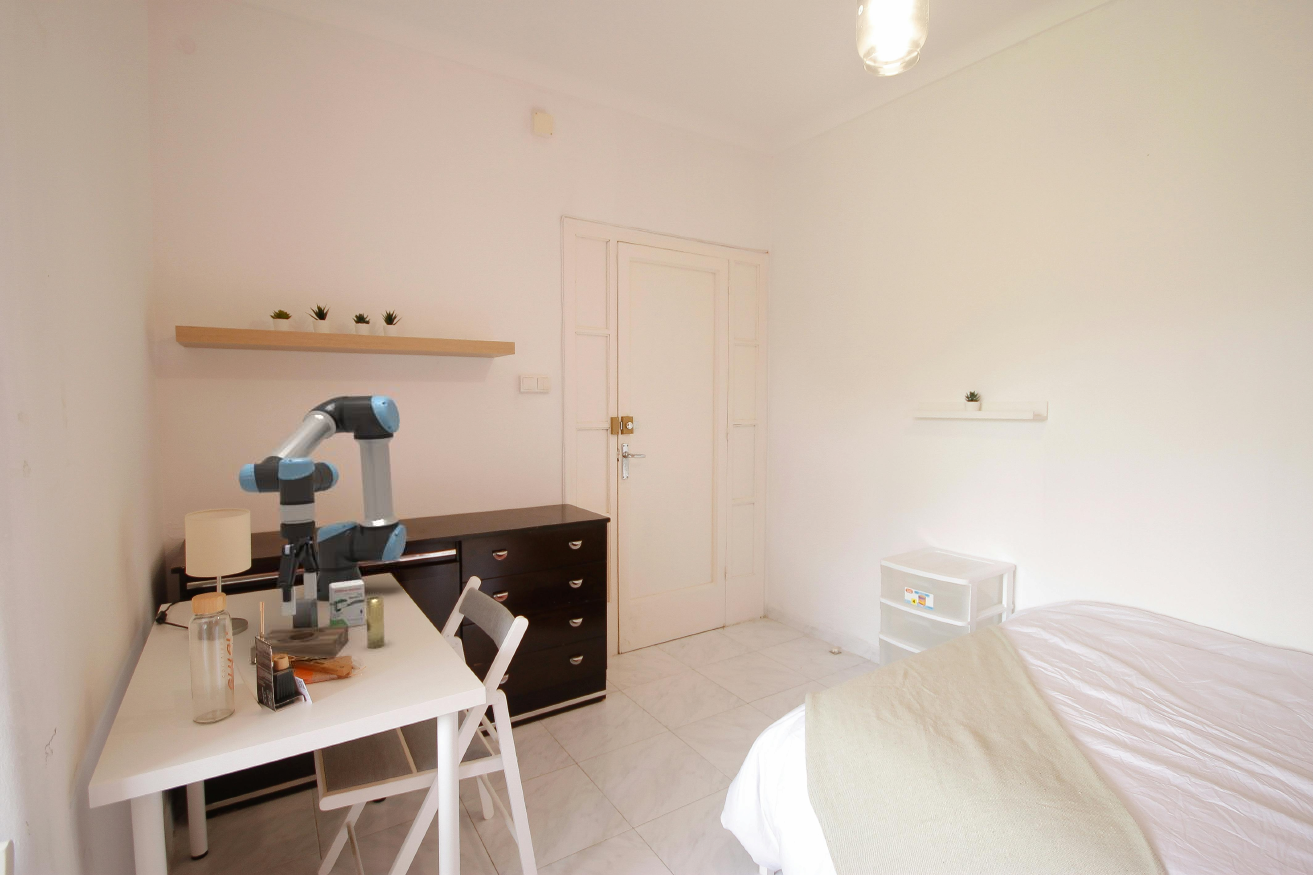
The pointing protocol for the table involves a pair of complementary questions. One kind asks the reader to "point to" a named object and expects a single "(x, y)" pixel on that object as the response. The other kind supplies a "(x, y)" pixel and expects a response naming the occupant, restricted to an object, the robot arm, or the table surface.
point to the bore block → (306, 642)
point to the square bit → (305, 613)
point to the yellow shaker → (375, 622)
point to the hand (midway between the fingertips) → (300, 606)
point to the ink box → (347, 603)
